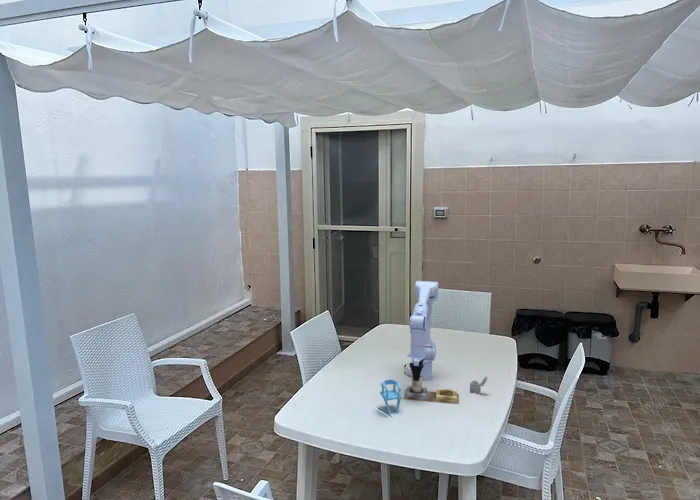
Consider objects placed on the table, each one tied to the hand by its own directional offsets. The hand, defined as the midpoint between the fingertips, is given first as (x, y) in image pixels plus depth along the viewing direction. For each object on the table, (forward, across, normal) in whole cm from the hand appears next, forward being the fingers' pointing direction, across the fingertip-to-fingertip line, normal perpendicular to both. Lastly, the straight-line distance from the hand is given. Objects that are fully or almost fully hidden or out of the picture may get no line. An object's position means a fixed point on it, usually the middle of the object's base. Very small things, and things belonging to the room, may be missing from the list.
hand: (417, 376), depth 204 cm
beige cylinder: (+8, 0, 0) cm, 8 cm away
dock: (+9, 0, +6) cm, 11 cm away
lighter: (+9, -9, +25) cm, 28 cm away
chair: (+9, +15, -9) cm, 20 cm away
